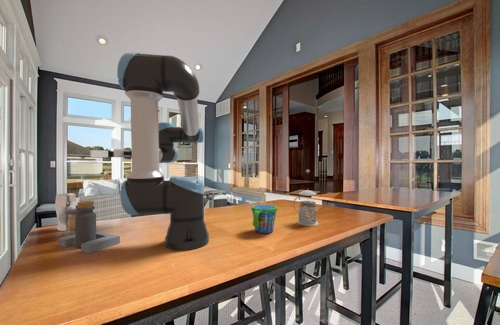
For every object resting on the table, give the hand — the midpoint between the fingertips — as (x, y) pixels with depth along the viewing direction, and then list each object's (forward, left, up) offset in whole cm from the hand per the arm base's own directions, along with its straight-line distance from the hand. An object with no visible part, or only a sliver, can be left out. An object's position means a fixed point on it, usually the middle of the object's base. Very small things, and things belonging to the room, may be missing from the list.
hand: (101, 153), depth 85 cm
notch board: (0, +4, -32) cm, 32 cm away
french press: (-63, -55, -32) cm, 90 cm away
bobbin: (+15, +1, -32) cm, 35 cm away
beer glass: (+28, -2, -32) cm, 43 cm away
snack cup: (-50, -35, -32) cm, 69 cm away
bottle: (0, +6, -32) cm, 33 cm away
